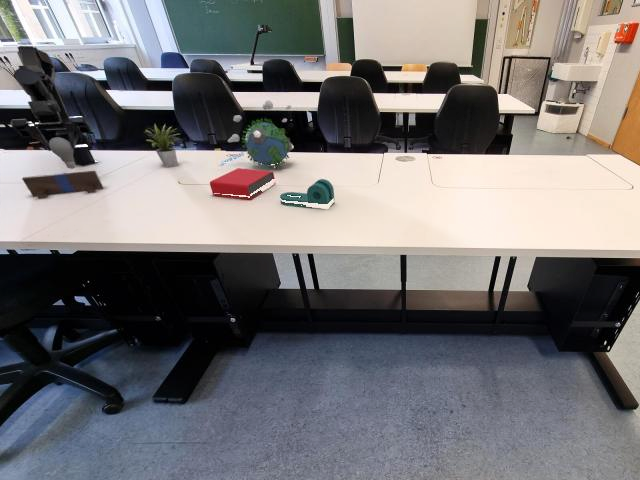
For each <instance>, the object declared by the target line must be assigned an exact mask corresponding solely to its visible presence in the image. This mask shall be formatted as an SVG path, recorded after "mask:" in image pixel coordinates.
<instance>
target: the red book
mask: <svg viewBox="0 0 640 480" xmlns="http://www.w3.org/2000/svg"><path fill="white" fill-rule="evenodd" d="M275 178H276V177H275V173H274V171H269V170H260V169H251V168H241V167H238V168H235V169H233V170H231V171H229V172H227V173H225V174H223V175H221V176H218V177H216V178H215V179H212V180H209V186H210V190H211V193H212V195H213V196H216V197H222V198H223V197H225V198H233V199H241V200H249V201H250V200H251V201H252V200H254V199H255V198H256V197H258V196H260V195H261V194H263V193H264V192H262V191H261V190H260V191H258V192H257V193H255V194H253V195H252V196H250V194H251V193H253V192H254V191H256V190H257V189H259V188H260V187H262V186H263V185H265V184H266V183H268V182H270V181H271V180H272V179H275ZM275 180H276V179H275ZM214 193H220V194H214ZM222 194H233V195H246V196H250V198H248V197H239V196H231V195H222Z"/></svg>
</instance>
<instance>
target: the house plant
mask: <svg viewBox="0 0 640 480" xmlns="http://www.w3.org/2000/svg"><path fill="white" fill-rule="evenodd" d="M153 125H154V129H152V128H150V127H149V128H146V129H145V131H144V133H145V134H146V135H148V136H149V137H150V138H152V139H146V140H145V141H147V142H151V146H152V148H155V146H156V147H158V148H157V149H156V150H155V152H156V154H157V156H158V158H159V160H160V161H161V163H162V165H163V166H164V167H166V168H172V167H176V166H178V165H179V164H178V158H177V157H178V156H177V152H176V148H174V147H171V146H172V145H174V146H175V143H176V142H177V141H178V142H180V141H181V140H179V137H177V138H173V137H176V136H178V135H179V133H174V132H176V131H175V130H176V128H174V129H172V130H171V128H172V126H170V127H169V128H167V130H165V128H166V124H164V125H163V127H162V129H161V131H160V129H159V128H158V126H157V125H156V123H155V122H154V124H153ZM148 129H150V130H151V131H152V132H151V131H150V130H148ZM172 133H173V134H172ZM181 134H182V133H180V135H181ZM171 138H172V139H171Z"/></svg>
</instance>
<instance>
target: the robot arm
mask: <svg viewBox="0 0 640 480" xmlns="http://www.w3.org/2000/svg"><path fill="white" fill-rule="evenodd" d="M17 50H18V51H17V56H18V58H19V60H20V63H21V64H22V65H18V68H16V70H14V72H13V77H14V79H15V81H16V82H17V84H18V85H19V86H20V87H21V89H22V90H23V91H24V93H25V94H26V95H28V96H29V98H30V101H27V104H28V106H29V109H30V110H31V112H32V114H33V115H34V118H35V120H36V121H38V122H34V121H29V120H28V119H27V118H17V119H14V118H13V119H11V120H10V125H11V128H12V129H13V130H14V131H15V132H16V133H17V135H19V137H21V138H32V139H34V140H36V139H37V140H38V141H39V142H40V143H42V144H43V146H44V147H45V148H46V149H47V151H48V152H52V151H51V150H50V148H49V142H48V141H47V138H46V137H45V136H44V134H43V133H42V132H41V131H55V132H56V133H55V136H56V137H59V138H63V139H65V140H67V141H69V142H70V144H71V146H72V148H73V149H74V150H73V158H74V163H75V166H81V167H84V166H89V165H92V164H96V163H98V162H99V161H98V160H95V159H94V156H93V154H92V152H91V150H90V149H91V148H93V145H92V143H91V141H90V140H89V137H88V136H87V135H86V134H91V133H92V129H91V127H90V125H89V123H88V122H87V119H85V117H84V116H82V115H78V116H77V115H76V116H75V115H73V116H70V115H69V112H68V110H67V108H66V106H65V104H64V102H63V99H62V97H61V95H60V93H59V90H58V88H57V86H56V83H55V79H56V76H57V74H56V72H55V69H56V67H55V64H54V62H53V60H52V58H51V57H50V56H49V54H48V53H47V52H46V51H43V50H40V49H39V48H37V47H36V46H33V45H19V46H17ZM56 137H55V138H56Z"/></svg>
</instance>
